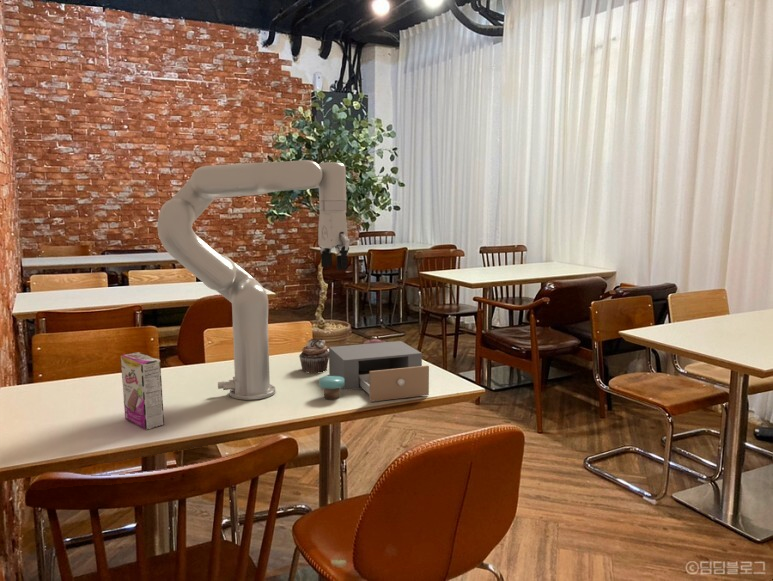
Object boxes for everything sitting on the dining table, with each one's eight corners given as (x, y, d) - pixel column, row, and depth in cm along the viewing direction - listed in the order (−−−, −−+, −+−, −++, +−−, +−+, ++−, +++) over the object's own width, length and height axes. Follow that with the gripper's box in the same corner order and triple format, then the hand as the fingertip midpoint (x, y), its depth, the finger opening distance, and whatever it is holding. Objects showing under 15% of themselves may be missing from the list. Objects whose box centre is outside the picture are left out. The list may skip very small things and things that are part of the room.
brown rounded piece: (326, 400, 164) (325, 388, 163) (322, 395, 168) (322, 383, 167) (341, 398, 165) (341, 386, 165) (337, 394, 169) (337, 382, 169)
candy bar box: (123, 419, 149) (119, 355, 147) (143, 414, 153) (139, 351, 151) (145, 431, 142) (141, 363, 140) (165, 425, 146) (161, 358, 143)
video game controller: (389, 360, 212) (390, 341, 214) (388, 357, 208) (389, 337, 210) (361, 359, 213) (362, 340, 215) (360, 357, 208) (361, 337, 211)
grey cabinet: (421, 381, 181) (421, 353, 180) (344, 390, 173) (344, 360, 172) (401, 367, 197) (401, 341, 195) (329, 374, 189) (328, 347, 187)
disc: (322, 389, 161) (322, 384, 161) (316, 382, 168) (316, 377, 168) (347, 387, 164) (347, 381, 164) (340, 380, 170) (340, 374, 170)
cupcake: (300, 366, 198) (299, 336, 197) (329, 365, 199) (329, 335, 198) (298, 374, 189) (298, 343, 187) (330, 373, 190) (329, 342, 188)
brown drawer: (430, 395, 166) (430, 367, 165) (371, 402, 161) (371, 372, 160) (406, 378, 183) (406, 352, 182) (352, 384, 177) (352, 357, 176)
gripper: (307, 207, 175) (309, 266, 177) (334, 207, 160) (336, 272, 163) (331, 207, 179) (332, 265, 181) (359, 207, 164) (360, 270, 167)
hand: (334, 268), depth 172 cm, fingers open, 9 cm apart
